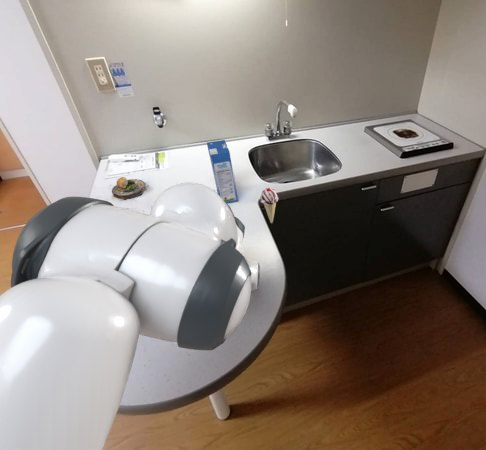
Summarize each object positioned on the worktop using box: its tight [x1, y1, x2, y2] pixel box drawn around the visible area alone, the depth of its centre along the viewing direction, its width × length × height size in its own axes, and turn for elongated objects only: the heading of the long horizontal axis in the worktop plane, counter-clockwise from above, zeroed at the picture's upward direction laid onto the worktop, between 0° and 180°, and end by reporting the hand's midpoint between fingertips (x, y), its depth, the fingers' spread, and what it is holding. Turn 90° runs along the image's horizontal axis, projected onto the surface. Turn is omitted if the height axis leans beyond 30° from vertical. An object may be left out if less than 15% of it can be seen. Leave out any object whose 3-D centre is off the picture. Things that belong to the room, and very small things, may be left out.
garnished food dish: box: [111, 176, 146, 200], centre depth 117 cm, size 12×12×8 cm
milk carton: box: [206, 139, 239, 205], centre depth 109 cm, size 10×6×20 cm, turn 20°
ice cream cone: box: [259, 187, 279, 226], centre depth 98 cm, size 6×6×15 cm
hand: (143, 275), depth 78 cm, fingers closed on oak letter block, 5 cm apart
